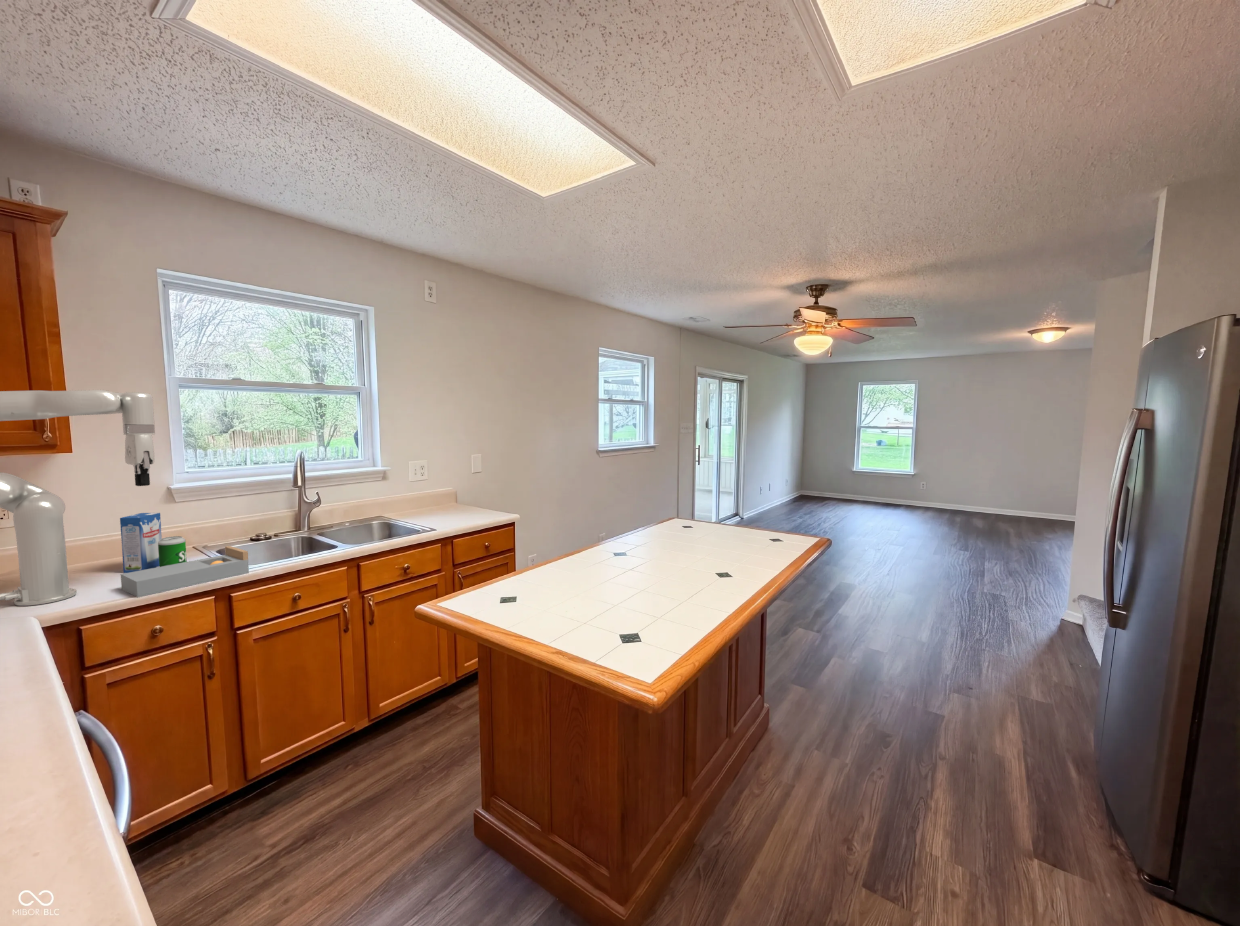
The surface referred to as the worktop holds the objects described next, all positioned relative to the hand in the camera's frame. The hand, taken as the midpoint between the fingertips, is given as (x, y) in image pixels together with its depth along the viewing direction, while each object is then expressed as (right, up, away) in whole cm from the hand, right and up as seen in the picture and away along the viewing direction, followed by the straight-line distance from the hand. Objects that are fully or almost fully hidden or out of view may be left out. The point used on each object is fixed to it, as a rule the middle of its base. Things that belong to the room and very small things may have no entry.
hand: (142, 485), depth 165 cm
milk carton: (-17, -32, +18) cm, 40 cm away
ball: (+15, -30, +12) cm, 36 cm away
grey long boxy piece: (+10, -33, +5) cm, 35 cm away
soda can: (-5, -32, +17) cm, 36 cm away
